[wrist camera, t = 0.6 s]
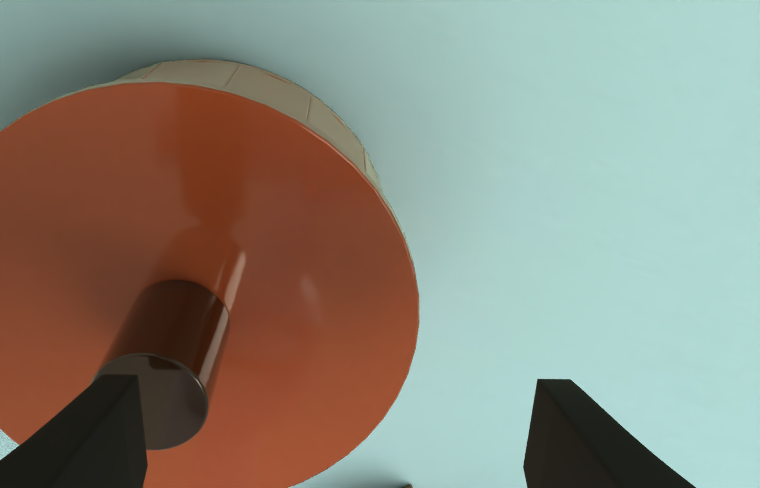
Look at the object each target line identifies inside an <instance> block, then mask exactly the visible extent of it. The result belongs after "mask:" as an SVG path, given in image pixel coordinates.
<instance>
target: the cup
mask: <svg viewBox="0 0 760 488" xmlns="http://www.w3.org/2000/svg"><path fill="white" fill-rule="evenodd" d="M148 78H170V79H181V80H193V81H201V82H206V83H210V84H215V85H219V86H224V87H229V88H233V89H236V90H239V91H242V92H245V93H248V94H251V95H253V96H256V97H259V98H262V99H265V100H268V101H270V102H272V103H274V104H276V105H278V106H280V107H282V108H284V109H286V110H288V111H290V112H292V113H294V114H296V115H298V116H300V117H301V118H303V119H304V120H306V121H307V122H309V123H310V124H312V125H313V126H315V127H316V128H318V129H319V130H321V131H322V132H324V133H325V134H327V135H328V136H329V137H330V138H331V139H333V140H334V141H335V142H336V143H337V144H338V145H340V146H341V147H342V148H343V149H344V150H345V151H346V152H348V153H349V154H350V155H351V156H352V157H353V158H354V159H355V160H356V161H357V162H358V163H359V165H360V166H361V167H362V168H363V169H364V170H365V171H366V172H367V174H368V175H369V176H370V177H371V178H372V179H373V180H374V182H375V183H376V185H377V186H378V188H379V189H380V191H381V192H382V189H381V186H380V183H379V180H378V177H377V174H376V172H375V169H374V167H373V165H372V163H371V161H370V159H369V157H368V155H367V153H366V150H365V148H364V147H363V146H362V144H361V143H360V142H359V141H358V139H357V138H356V136H355V135H354V133H353V132H352V131H351V130H350V129H349V128H348V126H347V125H346V124H345V123H344V122H343V121H342V119H341V118H340V117H339V116H338V115H337V114H336V113H335V112H333V111H332V110H331V109H330V108H329V107H328V106H327V105H326V104H324V103H323V102H322V101H321V100H320V99H318V98H317V97H315V96H314V95H312V94H311V93H309V92H308V91H306V90H305V89H304V88H302V87H301V86H299V85H297V84H295V83H293V82H291V81H289V80H287V79H285V78H283V77H281V76H279V75H277V74H274V73H271V72H268V71H266V70H263V69H260V68H257V67H255V66H250V65H246V64H241V63H237V62H232V61H224V60H213V59H186V60H176V61H165V62H159V63H156V64H154V65H151V66H148V67H145V68H142V69H139V70H136V71H133V72H130V73H128V74H126V75H124V76H122V77H120V78H118V79H116V80H114V81H112V82H115V81H121V80H126V79H148ZM382 194H383V192H382Z"/></svg>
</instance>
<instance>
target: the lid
mask: <svg viewBox="0 0 760 488" xmlns="http://www.w3.org/2000/svg"><path fill="white" fill-rule="evenodd" d="M418 328H419V293H418V286H417V280H416V274H415V268H414V263H413V259H412V256H411V253H410V250H409V247H408V243H407V240H406V237H405V234H404V232H403V230H402V228H401V226H400V224H399V222H398V219H397V217H396V215H395V213H394V211H393V209H392V207H391V206H390V204H389V203H388V201H387V200H386V198H385V197H384V195H383V194H382V192H381V191H380V189H379V188H378V186H377V185H376V183H375V182H374V180H373V179H372V178H371V177H370V176H369V175H368V174H367V172H366V171H365V170H364V169H363V168H362V167H361V166H360V165H359V163H358V162H357V161H356V160H355V159H354V158H353V157H352V156H351V155H350V154H349V153H348V152H346V151H345V150H344V149H343V148H342V147H341V146H340V145H338V144H337V143H336V142H335V141H334V140H333V139H331V138H330V137H329V136H328V135H327V134H325V133H324V132H322V131H321V130H319V129H318V128H316V127H315V126H313V125H312V124H310V123H309V122H307V121H306V120H304V119H303V118H301V117H300V116H298V115H296V114H294V113H292V112H290V111H288V110H286V109H284V108H282V107H280V106H278V105H276V104H274V103H272V102H270V101H268V100H265V99H262V98H259V97H256V96H253V95H251V94H248V93H245V92H242V91H239V90H236V89H233V88H229V87H224V86H219V85H215V84H210V83H206V82H201V81H193V80H181V79H170V78H148V79H126V80H121V81H115V82H109V83H104V84H98V85H92V86H89V87H86V88H83V89H80V90H77V91H74V92H71V93H68V94H65V95H62V96H59V97H57V98H55V99H53V100H51V101H49V102H47V103H45V104H43V105H41V106H39V107H37V108H35V109H32V110H30V111H29V112H27V113H26V114H24V115H22V116H21V117H20V118H18V119H17V120H15V121H14V122H12V123H11V124H10V125H8V126H7V127H5V128H4V129H2V130H1V131H0V429H1V430H2V431H3V432H4V433H5V434H6V435H7V436H8V437H10V438H11V439H12V440H13V441H14V442H16V443H17V444H18V445H21V444H22V443H23V442H25V441H26V440H27V439H28V438H29V437H31V436H32V435H33V434H34V433H35V432H37V431H38V430H39V429H40V428H41V427H42V426H44V425H45V424H46V423H47V422H48V421H50V420H51V419H52V418H53V417H54V416H55V415H56V414H58V413H59V412H60V411H61V410H62V409H63V408H65V407H66V406H67V405H68V404H69V403H70V402H71V401H73V400H74V399H75V398H76V397H77V396H78V395H79V394H81V393H82V392H83V391H84V390H85V389H86V388H87V387H89V386H90V385H91V384H92V383H93V382H94V381H95V380H97V379H98V378H99V377H100V376H102V375H103V374H127V375H138V380H139V389H140V398H141V407H142V416H143V426H144V435H145V444H146V453H147V462H148V467H147V471H146V476H145V480H144V484H143V488H288V487H291V486H293V485H296V484H299V483H301V482H304V481H305V480H307V479H309V478H311V477H313V476H315V475H317V474H319V473H321V472H323V471H324V470H326V469H328V468H329V467H331V466H332V465H334V464H335V463H336V462H338V461H339V460H341V459H342V458H344V457H345V456H347V455H348V454H349V453H350V452H351V451H352V450H354V449H355V448H356V447H357V446H358V445H359V444H360V443H361V442H363V441H364V440H365V439H366V438H367V437H368V436H369V435H370V433H371V432H372V431H373V430H374V429H375V428H376V426H377V425H378V424H379V423H380V422H381V421H382V420H383V418H384V417H385V415H386V414H387V412H388V411H389V409H390V407H391V406H392V404H393V403H394V401H395V400H396V398H397V397H398V395H399V392H400V390H401V388H402V386H403V384H404V382H405V379H406V377H407V375H408V373H409V369H410V366H411V363H412V359H413V356H414V353H415V349H416V343H417V335H418Z"/></svg>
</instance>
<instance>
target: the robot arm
mask: <svg viewBox="0 0 760 488" xmlns="http://www.w3.org/2000/svg"><path fill="white" fill-rule="evenodd" d="M147 467H148V462H147V453H146V444H145V435H144V426H143V416H142V407H141V398H140V389H139V380H138V375H127V374H103V375H102V376H100V377H99V378H98V379H97V380H95V381H94V382H93V383H92V384H91V385H90V386H89V387H87V388H86V389H85V390H84V391H83V392H82V393H81V394H79V395H78V396H77V397H76V398H75V399H74V400H73V401H71V402H70V403H69V404H68V405H67V406H66V407H65V408H63V409H62V410H61V411H60V412H59V413H58V414H56V415H55V416H54V417H53V418H52V419H51V420H50V421H48V422H47V423H46V424H45V425H44V426H42V427H41V428H40V429H39V430H38V431H37V432H35V433H34V434H33V435H32V436H31V437H29V438H28V439H27V440H26V441H25V442H23V443H22V444H21V445H20V446H18V447H17V448H16V449H14V450H13V451H12V452H11V453H9V454H8V455H7V456H5V457H4V458H3V459H1V460H0V488H143V484H144V480H145V476H146V471H147ZM523 468H524V473H525V478H526V483H527V488H696V487H694V486H693V485H692V484H690V483H689V482H688V481H687V480H685V479H684V478H683V477H682V476H680V475H679V474H678V473H676V472H675V471H674V470H673V469H671V468H670V467H669V466H668V465H666V464H665V463H664V462H663V461H661V460H660V459H659V458H658V457H657V456H655V455H654V454H653V453H652V452H651V451H649V450H648V449H647V448H646V447H645V446H644V445H642V444H641V443H640V442H639V441H638V440H637V439H636V438H634V437H633V436H632V435H631V434H630V433H629V432H628V431H627V430H625V429H624V428H623V427H622V426H621V425H620V424H619V423H618V422H617V421H615V420H614V419H613V418H612V417H611V416H610V415H609V414H608V413H607V412H606V411H605V410H604V409H602V408H601V407H600V406H599V405H598V404H597V403H596V402H595V401H594V400H593V399H592V398H591V397H590V396H588V395H587V394H586V393H585V392H584V391H583V390H582V389H581V388H580V387H579V386H577V385H576V384H575V383H574V382H573V381H572V380H570V379H538V380H537V386H536V392H535V398H534V404H533V410H532V416H531V423H530V429H529V435H528V441H527V447H526V453H525V459H524V466H523Z"/></svg>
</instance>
